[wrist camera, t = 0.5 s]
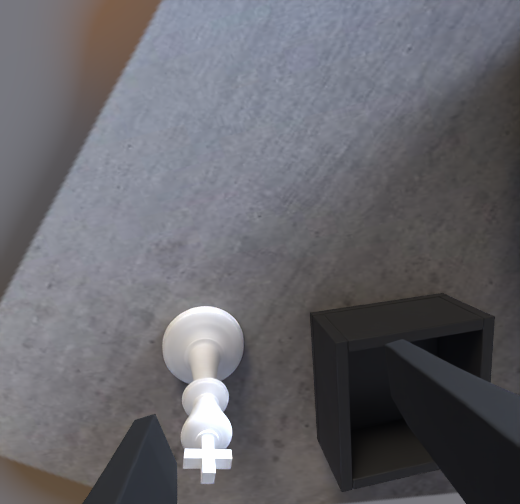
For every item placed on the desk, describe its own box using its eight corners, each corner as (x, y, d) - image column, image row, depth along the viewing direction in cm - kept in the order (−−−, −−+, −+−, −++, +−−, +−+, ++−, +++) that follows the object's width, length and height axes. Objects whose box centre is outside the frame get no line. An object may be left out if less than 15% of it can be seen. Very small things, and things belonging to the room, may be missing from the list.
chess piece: (237, 382, 22) (266, 537, 13) (157, 378, 21) (124, 541, 12) (249, 310, 21) (291, 415, 12) (167, 301, 20) (139, 409, 11)
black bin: (317, 439, 24) (341, 492, 20) (309, 312, 22) (335, 342, 18) (439, 413, 26) (486, 459, 21) (442, 292, 24) (495, 316, 19)
